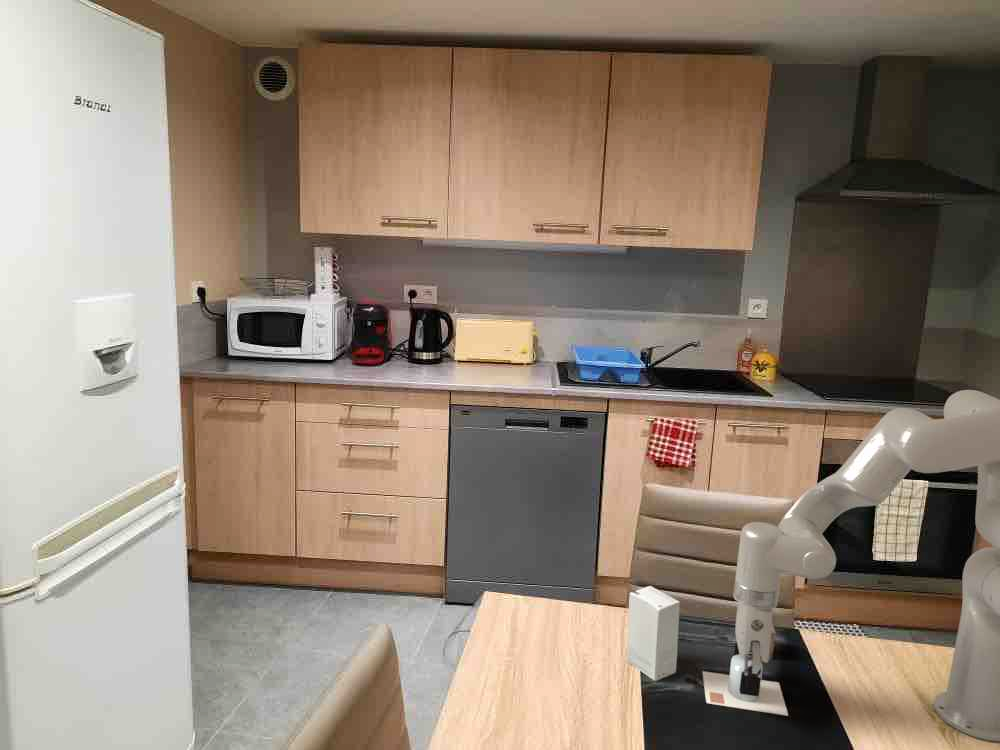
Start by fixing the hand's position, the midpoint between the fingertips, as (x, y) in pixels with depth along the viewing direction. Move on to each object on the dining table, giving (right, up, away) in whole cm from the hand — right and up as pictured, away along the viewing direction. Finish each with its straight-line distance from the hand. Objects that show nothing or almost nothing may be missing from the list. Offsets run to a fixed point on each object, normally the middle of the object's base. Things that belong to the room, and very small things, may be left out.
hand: (745, 678), depth 138 cm
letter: (0, -3, +1) cm, 3 cm away
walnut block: (+7, -1, +15) cm, 17 cm away
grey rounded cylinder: (0, -3, +1) cm, 3 cm away
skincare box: (-16, -1, +7) cm, 18 cm away
